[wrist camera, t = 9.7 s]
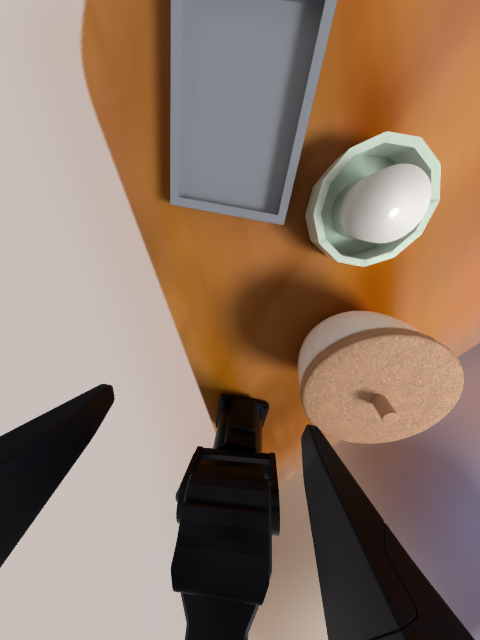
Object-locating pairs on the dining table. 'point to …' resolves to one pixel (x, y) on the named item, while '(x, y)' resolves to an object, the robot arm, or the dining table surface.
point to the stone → (383, 204)
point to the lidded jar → (375, 378)
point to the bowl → (352, 168)
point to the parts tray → (242, 101)
